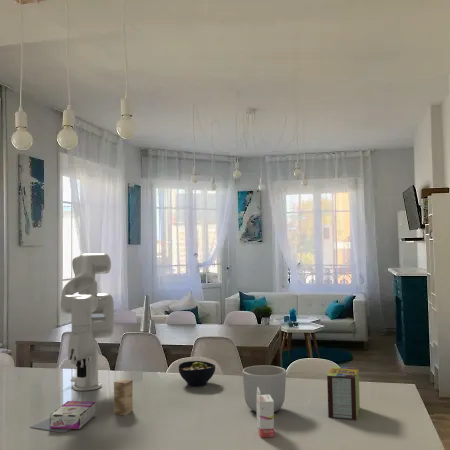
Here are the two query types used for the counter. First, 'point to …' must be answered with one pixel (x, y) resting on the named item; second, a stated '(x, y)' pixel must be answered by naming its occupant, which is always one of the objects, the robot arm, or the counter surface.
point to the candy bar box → (72, 415)
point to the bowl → (196, 372)
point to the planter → (264, 384)
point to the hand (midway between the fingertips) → (81, 376)
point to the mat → (46, 426)
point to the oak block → (123, 397)
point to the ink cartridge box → (265, 415)
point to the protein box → (343, 392)
